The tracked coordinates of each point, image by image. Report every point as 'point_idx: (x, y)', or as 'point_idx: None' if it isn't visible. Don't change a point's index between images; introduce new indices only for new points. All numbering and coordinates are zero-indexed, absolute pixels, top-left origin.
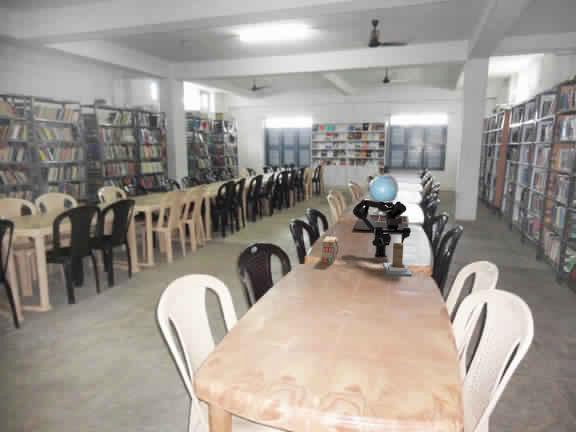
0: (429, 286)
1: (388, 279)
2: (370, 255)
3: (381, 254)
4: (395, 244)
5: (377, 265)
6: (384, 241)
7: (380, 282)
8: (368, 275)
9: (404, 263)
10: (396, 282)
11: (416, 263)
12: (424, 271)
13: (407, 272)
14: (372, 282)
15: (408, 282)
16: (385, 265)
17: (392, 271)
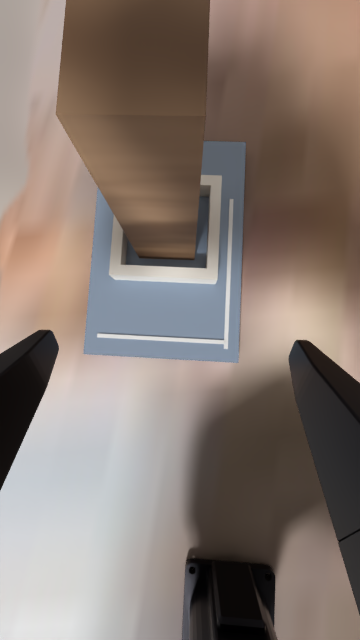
0: (58, 3)
1: (243, 78)
2: (306, 606)
3: (230, 572)
4: (186, 13)
5: (277, 335)
6: (316, 367)
7: (292, 28)
8: (349, 130)
9: (95, 353)
10: (209, 38)
11: None
12: (10, 236)
13: None
14: (334, 23)
15: None
16: (232, 295)
17: (207, 172)
